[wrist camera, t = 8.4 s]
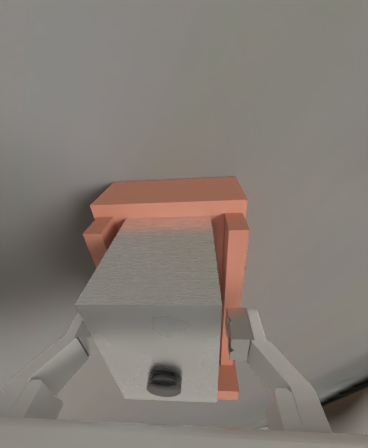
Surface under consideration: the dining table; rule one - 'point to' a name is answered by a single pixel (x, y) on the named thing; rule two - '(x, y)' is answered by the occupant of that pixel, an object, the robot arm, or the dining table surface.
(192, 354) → the block with knob
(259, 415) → the dining table surface
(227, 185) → the pink boxy piece
